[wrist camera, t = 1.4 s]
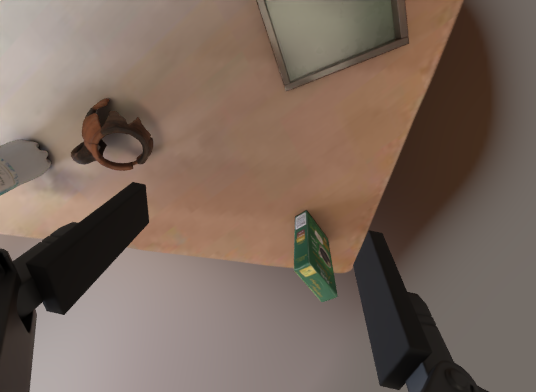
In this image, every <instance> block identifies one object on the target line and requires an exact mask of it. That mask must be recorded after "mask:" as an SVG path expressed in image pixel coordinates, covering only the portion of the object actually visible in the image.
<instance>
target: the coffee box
mask: <svg viewBox="0 0 536 392" xmlns="http://www.w3.org/2000/svg"><path fill="white" fill-rule="evenodd" d="M294 271H295V272H296V273H297V274H298V276H299V277H300V278H302V280H303V281H304V282H305V283H306V285H307V286H308V287H309V288H310V289H311V290H312V292H313V293H314V294H315V295H316V296H317V297H318V298H319V300H320V301H321V302H324V301H327V300H330V299H333V298H336V297H337V290H336V284H335V278H334V273H333V267H332V260H331V254H330V248H329V242H328V238H327V237H326V236H325V234H324V233H323V232H322V230H321V229H320V228H319V226H318V225H317V224H316V222H315V221H314V220H313V218H312V217H311V216H310V214H309V213H308V211H305V212H303V213H301V214H299V215H298V216H296V217H295V242H294Z"/></svg>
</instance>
